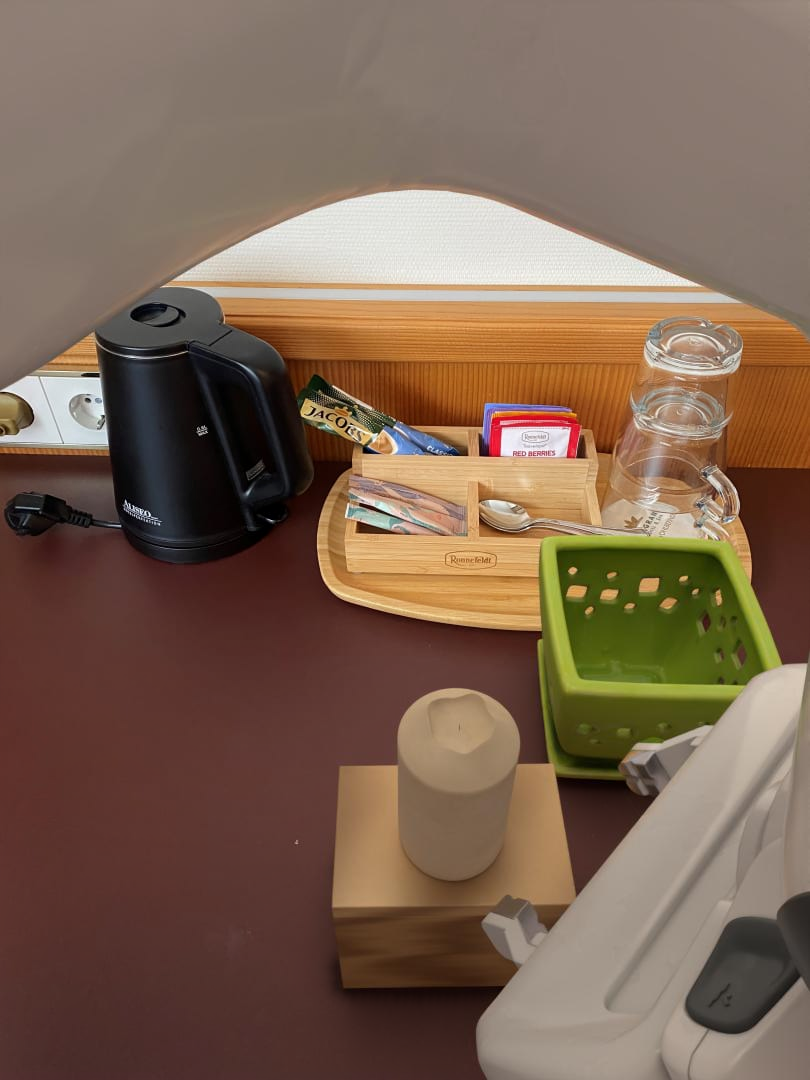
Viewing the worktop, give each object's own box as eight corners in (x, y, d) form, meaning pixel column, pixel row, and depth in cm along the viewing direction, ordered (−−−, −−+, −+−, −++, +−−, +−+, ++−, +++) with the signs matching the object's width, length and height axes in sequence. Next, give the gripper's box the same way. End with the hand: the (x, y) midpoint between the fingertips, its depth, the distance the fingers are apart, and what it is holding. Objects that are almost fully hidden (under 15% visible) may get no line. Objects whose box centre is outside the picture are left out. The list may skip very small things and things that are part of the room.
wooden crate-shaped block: (343, 988, 46) (331, 907, 39) (348, 857, 52) (339, 765, 44) (550, 985, 46) (578, 904, 39) (532, 855, 52) (554, 763, 44)
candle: (377, 843, 41) (371, 731, 34) (435, 765, 44) (441, 650, 38) (468, 905, 39) (482, 798, 32) (522, 818, 42) (546, 705, 35)
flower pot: (534, 804, 55) (558, 691, 46) (519, 646, 65) (536, 530, 56) (740, 809, 54) (803, 697, 46) (692, 650, 64) (736, 534, 56)
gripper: (982, 604, 27) (664, 640, 39) (668, 1142, 16) (358, 965, 28) (1061, 757, 28) (725, 747, 39) (810, 1370, 17) (450, 1105, 28)
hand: (571, 840), depth 33 cm, fingers open, 8 cm apart
